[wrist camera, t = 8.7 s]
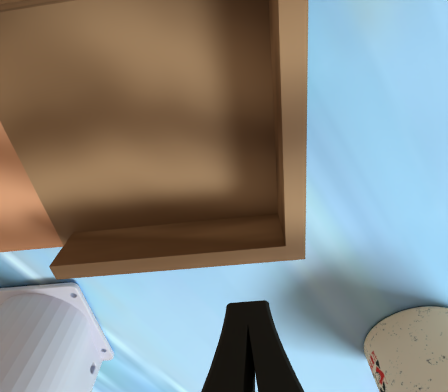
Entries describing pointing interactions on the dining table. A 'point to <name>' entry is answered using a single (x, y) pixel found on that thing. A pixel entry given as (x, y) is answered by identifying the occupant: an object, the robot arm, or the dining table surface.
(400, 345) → the teacup with lid
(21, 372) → the robot arm
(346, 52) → the dining table surface
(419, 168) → the dining table surface
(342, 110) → the dining table surface
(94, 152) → the brown wooden tray
